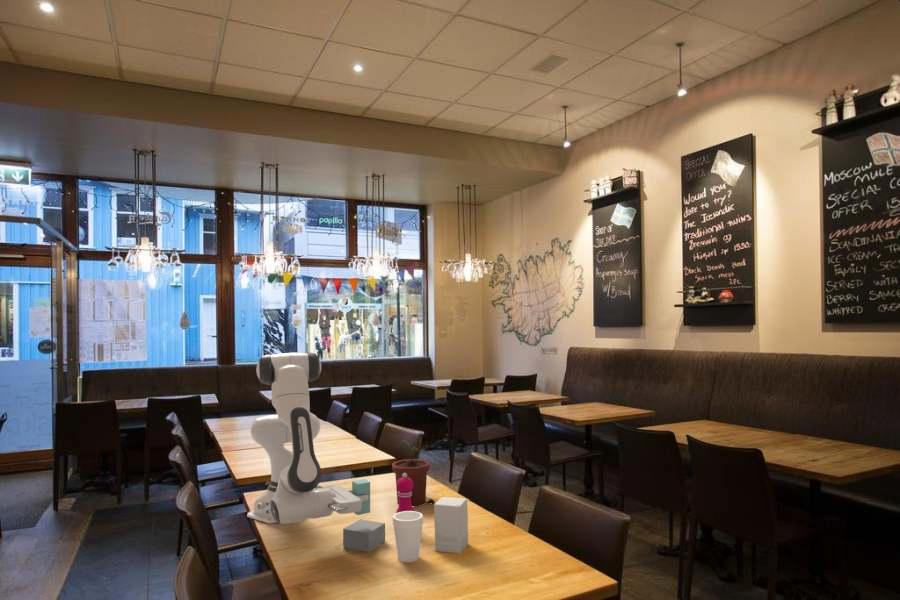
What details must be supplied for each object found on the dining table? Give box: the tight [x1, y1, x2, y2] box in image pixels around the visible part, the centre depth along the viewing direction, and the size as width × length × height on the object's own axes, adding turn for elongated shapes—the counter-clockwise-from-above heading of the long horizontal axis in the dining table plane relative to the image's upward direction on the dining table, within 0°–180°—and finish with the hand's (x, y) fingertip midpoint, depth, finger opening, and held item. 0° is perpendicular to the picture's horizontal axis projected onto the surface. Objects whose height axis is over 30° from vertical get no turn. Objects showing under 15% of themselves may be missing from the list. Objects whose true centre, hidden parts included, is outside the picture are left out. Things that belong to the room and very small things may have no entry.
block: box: [351, 478, 371, 516], centre depth 186 cm, size 4×4×10 cm
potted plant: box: [391, 440, 436, 507], centre depth 234 cm, size 18×22×25 cm
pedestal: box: [342, 519, 386, 553], centre depth 187 cm, size 10×10×6 cm
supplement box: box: [433, 496, 469, 554], centre depth 183 cm, size 9×9×15 cm
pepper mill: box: [395, 473, 415, 514], centre depth 200 cm, size 7×7×20 cm
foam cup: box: [392, 510, 424, 563], centre depth 175 cm, size 10×9×13 cm
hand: (363, 494), depth 187 cm, fingers closed on block, 4 cm apart
